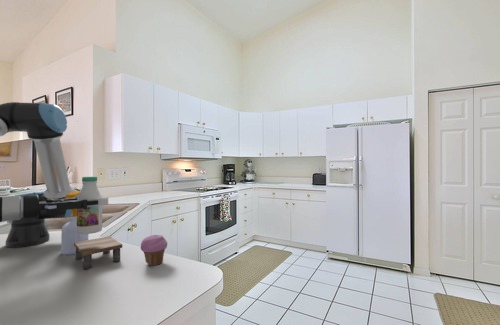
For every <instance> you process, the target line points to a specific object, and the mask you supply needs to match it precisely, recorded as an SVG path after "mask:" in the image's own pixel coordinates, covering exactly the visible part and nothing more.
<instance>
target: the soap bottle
mask: <svg viewBox="0 0 500 325" xmlns="http://www.w3.org/2000/svg"><path fill="white" fill-rule="evenodd" d="M80 192H81V190H75V191H73V192H71V193H69V194H67V195H66V196H65V198H75V197H76V195H78V194H80ZM71 211H72V212H73V215H70V217H69V218H70V221H68V222H66V223H65V224H64V225H62V228H61V238H60V239H61V247H60V248H61V250H60V251H61V254H62V255H65V256H69V255H76V248H75V246H74V243H75V242H80V241H86V240H89V234H78V233H77V209H71Z"/></svg>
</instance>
